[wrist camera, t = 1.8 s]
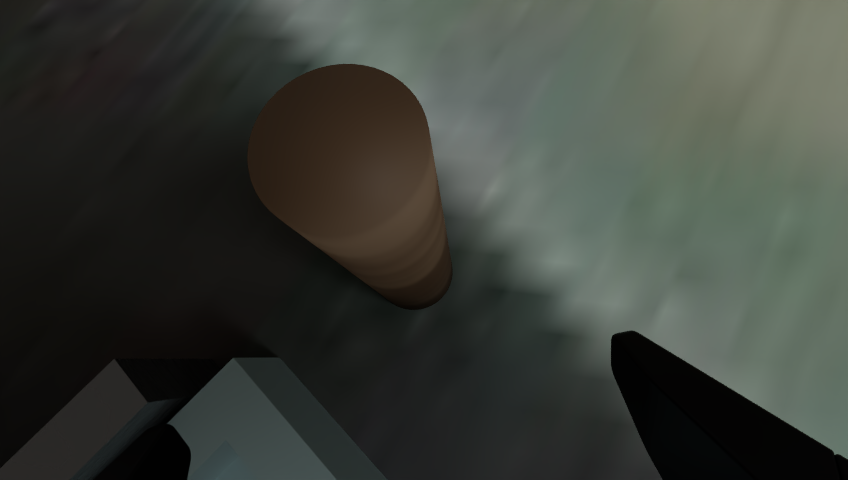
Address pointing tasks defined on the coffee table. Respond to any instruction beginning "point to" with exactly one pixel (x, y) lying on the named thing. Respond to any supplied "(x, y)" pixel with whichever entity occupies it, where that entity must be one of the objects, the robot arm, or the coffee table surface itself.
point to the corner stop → (109, 417)
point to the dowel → (356, 178)
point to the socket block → (266, 429)
